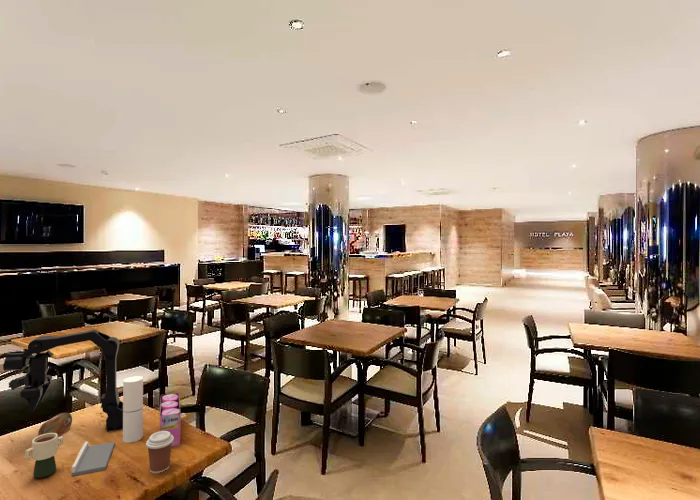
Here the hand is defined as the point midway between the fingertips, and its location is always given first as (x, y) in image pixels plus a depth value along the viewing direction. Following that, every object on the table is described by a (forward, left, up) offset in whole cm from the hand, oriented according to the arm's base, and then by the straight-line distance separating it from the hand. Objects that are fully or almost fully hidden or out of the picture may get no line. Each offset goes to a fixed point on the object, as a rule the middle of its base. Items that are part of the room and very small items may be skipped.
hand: (35, 406), depth 151 cm
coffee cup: (-48, +39, -15) cm, 63 cm away
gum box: (-50, +14, -15) cm, 54 cm away
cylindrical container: (-36, +12, -15) cm, 41 cm away
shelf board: (-25, +24, -14) cm, 37 cm away
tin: (-6, -1, -15) cm, 16 cm away
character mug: (-11, +28, -15) cm, 33 cm away
